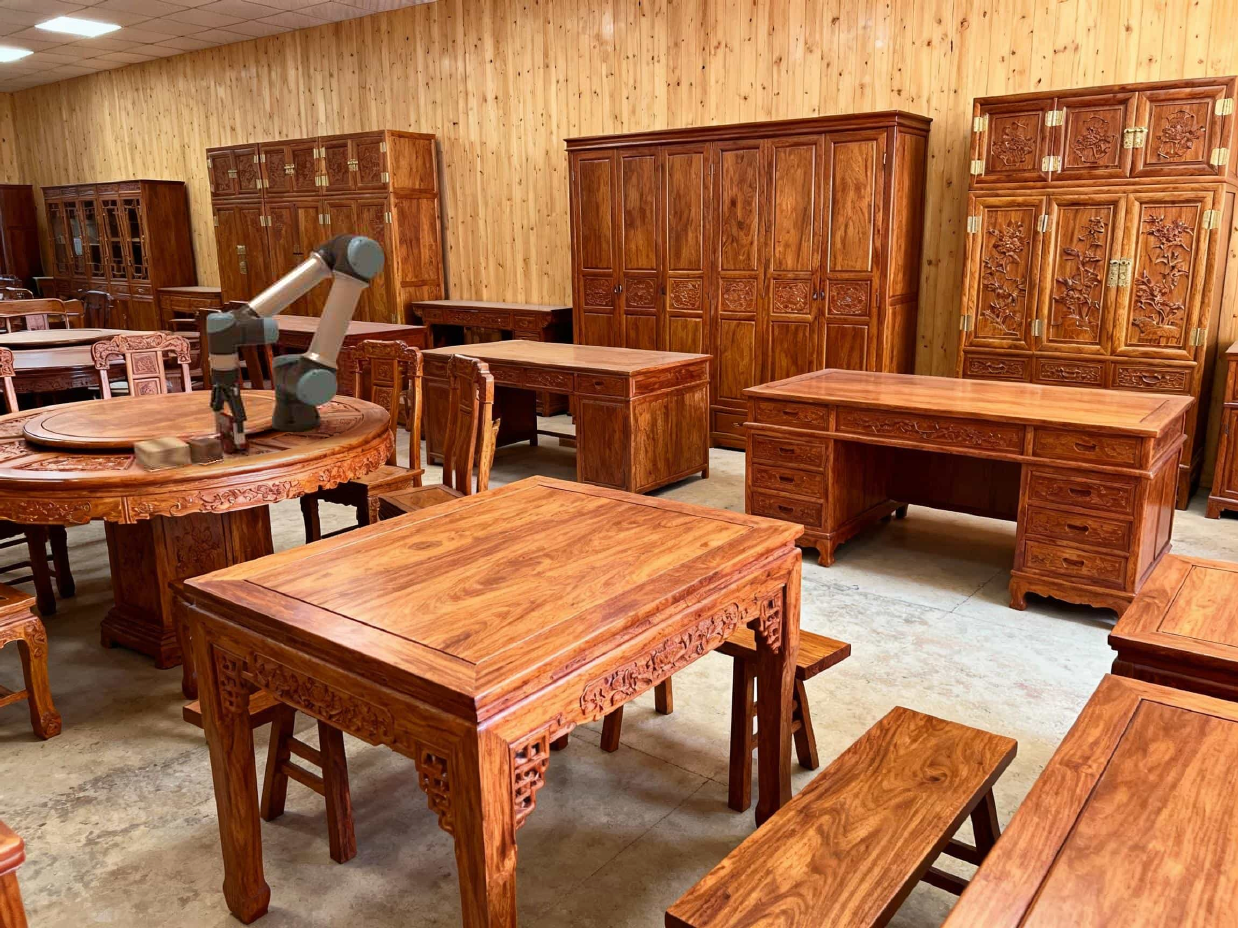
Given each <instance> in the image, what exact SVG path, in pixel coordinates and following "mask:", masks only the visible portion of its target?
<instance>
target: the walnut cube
mask: <svg viewBox="0 0 1238 928" xmlns="http://www.w3.org/2000/svg"><path fill="white" fill-rule="evenodd" d="M188 445H189V447H190V456H191V463H193V462H196V463H195V464H197V463H204V464H205V463H209V462H213V461H216V460H220V459H223V460H224V457H223V449H222V447H221V441H220V440H216V439H214V438H212V437H208V436H205V437H202V438H198V439H194V440H191V441H188Z"/></svg>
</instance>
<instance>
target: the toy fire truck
mask: <svg viewBox="0 0 1238 928" xmlns="http://www.w3.org/2000/svg"><path fill="white" fill-rule="evenodd" d="M218 420H219V424H220V433H219V434H220V435H215V436H214V438H213V439H216V440H220V441H221V447H222V452H223V453H224V454H228V455H229V454H231V453H233V451H234V450H242V451H245V450H249V449H250V447H251V443H250V440H249V438H248V437H247V436H246V435H245V443H242V444H235V440H234V427H233V423H232V422H233V420H234V418H233V416H232V414H231V415H230V414H228V413H226V412H225V411H224V412H222V413H219V414H218Z"/></svg>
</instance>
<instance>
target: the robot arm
mask: <svg viewBox="0 0 1238 928" xmlns="http://www.w3.org/2000/svg"><path fill="white" fill-rule="evenodd" d="M384 253H385V252H384V251H383V249H382V247H381V245H380V244H379V243H378V242H377V241H375V240H374V239H372V238H369V237H366V236H365V235H355V234H351V233H340V234H337V235H334V236H333V237H331V238H329V239H328V240H326V241H324V242H323V243H322V244H320V245H319V246H318V247H316V248H315V249H314V250H312V251H311V252H310V253H309V258H307V259H306V260H305V261H303V262H302V263H300V264H299V265H298V266H296V267H295V268H293V269H292V270H291V271H289V272H288V273H287V274H286V275H284V276H282V278H281V277H280V279H278V280H277V281H276V282H275V283H273V284H272V285H270V286H268V288H266V289H265V290H264V291H262V292H261V293H260V294H258V295H257V296H255V298H252V300H250V301H249V302H247V303H246V304H244V305H242V307H240V308H239V309H232V310H230V311H227V312H213V313H210V314H208V315H207V316H206V334H207V343H208V354H209V357H208V358H207V359H208V361H209V366H210V367H211V368H210V380H211V384H212V385H211V393H210V394H211V396H210V401H209V408H210V409H212V412H213V416H214V419H213V420H214V431H215V432H214V433H216V434H220V424H219V420H218V414H219V413H222V412H224V413H225V407H224V405H225V403H227V404H228V408H229V409H230V413H231V416H233V418H234V420H233V422H232V423H233V427H234V440H235V444H242V443H245V436H246V435H245V423H244V422H247V421H248V417H247V415H246V414H247V412H246V410H245V405H244V402H243V398H242V394H241V388H240V387H236V385H235V383H236V382H238V381H239V380H240V369H239V367H238V366H239V353H238V347H242V346H254V345H255V346H256V345H267V344H268V345H269V344H274V343H276V342H277V341H278V339H279V336H280V330H279V325H278V323H277V321H276V319H274V318H273V317H274V316H276V315H277V314H278V313H280V312H281V311H283V310H285V308H287V307H288V306H289V305H291V304H292V303H293V302H295V301H296V300H297V299H298V298H300V297H301V296H303V295H304V294H306V293H307V292H309V290H311V289H312V288H313V287H315V286H317V285H318V284H319V283H320V282H322V281H323V280H324V279H327V278H328V279H331V278H332V277H333V278H334V281H333V284H332V286H331V289H330V292H329V295H328V297H327V300H326V302H325V305H324V308H323V310H322V312H321V316H320V319H319V321H318V323H317V327H316V330H315V331H314V334H313V337H312V341H311V343H310V346H309V348H308V350H307V351H306V352H305V353H297V354H296V353H295V354H284V355H279V356H275V357H273V359H272V367H271V369H272V376H273V387H274V396H275V397H274V398H275V399H274V400H275V405H274V408H273V412H272V416H271V421H270V422H271V426H272V425H273V427H272V428H273V429H275V430H278V431H282V432H283V431H284V432H301V431H303V432H304V431H308V430H313V429H316V428H318V427H320V426H321V425H322V418H321V415H320V413H319V410H318V408H317V407H319V406H322V405H325V404H327V403H329V402H331V400H333V398H334V397H335V395H336V394H337V391H338V385H339V384H338V381H337V378H336V377H337V373H338V370H339V366H338V363H337V359H338V355H339V352H340V350H341V347H342V345H343V342H344V340H345V337H346V335H347V332H348V329H349V326H350V323H351V322H352V318H353V315H354V314H355V310H356V307H357V304H358V302H359V299H360V296H361V295H362V292H363V290H364V289H365V288H368V287H369V286H370V284H371V282H372V279H373V278H375V277H376V276H378V275H379V274H380V273H381V272H382V270H383V269H384V266H385V254H384Z"/></svg>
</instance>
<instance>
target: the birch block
mask: <svg viewBox="0 0 1238 928" xmlns="http://www.w3.org/2000/svg"><path fill="white" fill-rule="evenodd" d="M133 449H134V455H135V462H136V464H138V465H139V466H140V465H141V466H140V467H142V466H143V467H145V468H146V469H149V470H155V469H163V468H166V467H173V466H180V465H186V464H191V465H192V462H191V456H190V447H189V443H186V442H185V441H183V440H181V439H180V438H178V437H177V436H175V435H173V436H167V437H161V438H156V439H150V440H144V441H139V442H138V441H137V442H133ZM143 467H142V468H143ZM145 468H144V469H145ZM146 469H145V470H146Z"/></svg>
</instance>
